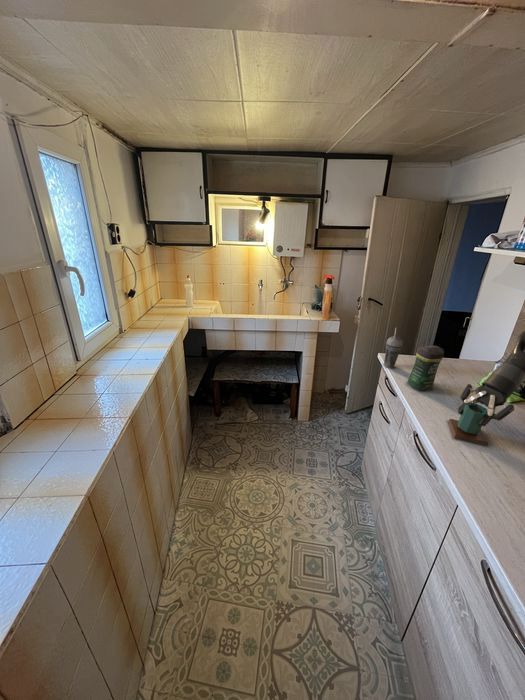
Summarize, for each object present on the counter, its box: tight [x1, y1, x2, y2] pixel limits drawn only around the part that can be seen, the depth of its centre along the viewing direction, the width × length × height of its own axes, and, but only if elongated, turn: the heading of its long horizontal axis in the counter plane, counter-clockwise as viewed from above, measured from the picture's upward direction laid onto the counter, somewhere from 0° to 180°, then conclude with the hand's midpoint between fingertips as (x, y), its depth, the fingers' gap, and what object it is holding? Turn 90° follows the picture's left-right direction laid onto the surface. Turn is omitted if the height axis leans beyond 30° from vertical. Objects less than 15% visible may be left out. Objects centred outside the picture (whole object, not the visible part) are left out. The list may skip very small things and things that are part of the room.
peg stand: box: [448, 408, 489, 447], centre depth 92 cm, size 9×9×10 cm
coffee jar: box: [407, 345, 445, 391], centre depth 117 cm, size 10×8×19 cm
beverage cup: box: [383, 327, 404, 369], centre depth 133 cm, size 7×7×20 cm
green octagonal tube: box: [457, 403, 488, 434], centre depth 92 cm, size 6×6×8 cm
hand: (469, 418), depth 91 cm, fingers closed on green octagonal tube, 5 cm apart
